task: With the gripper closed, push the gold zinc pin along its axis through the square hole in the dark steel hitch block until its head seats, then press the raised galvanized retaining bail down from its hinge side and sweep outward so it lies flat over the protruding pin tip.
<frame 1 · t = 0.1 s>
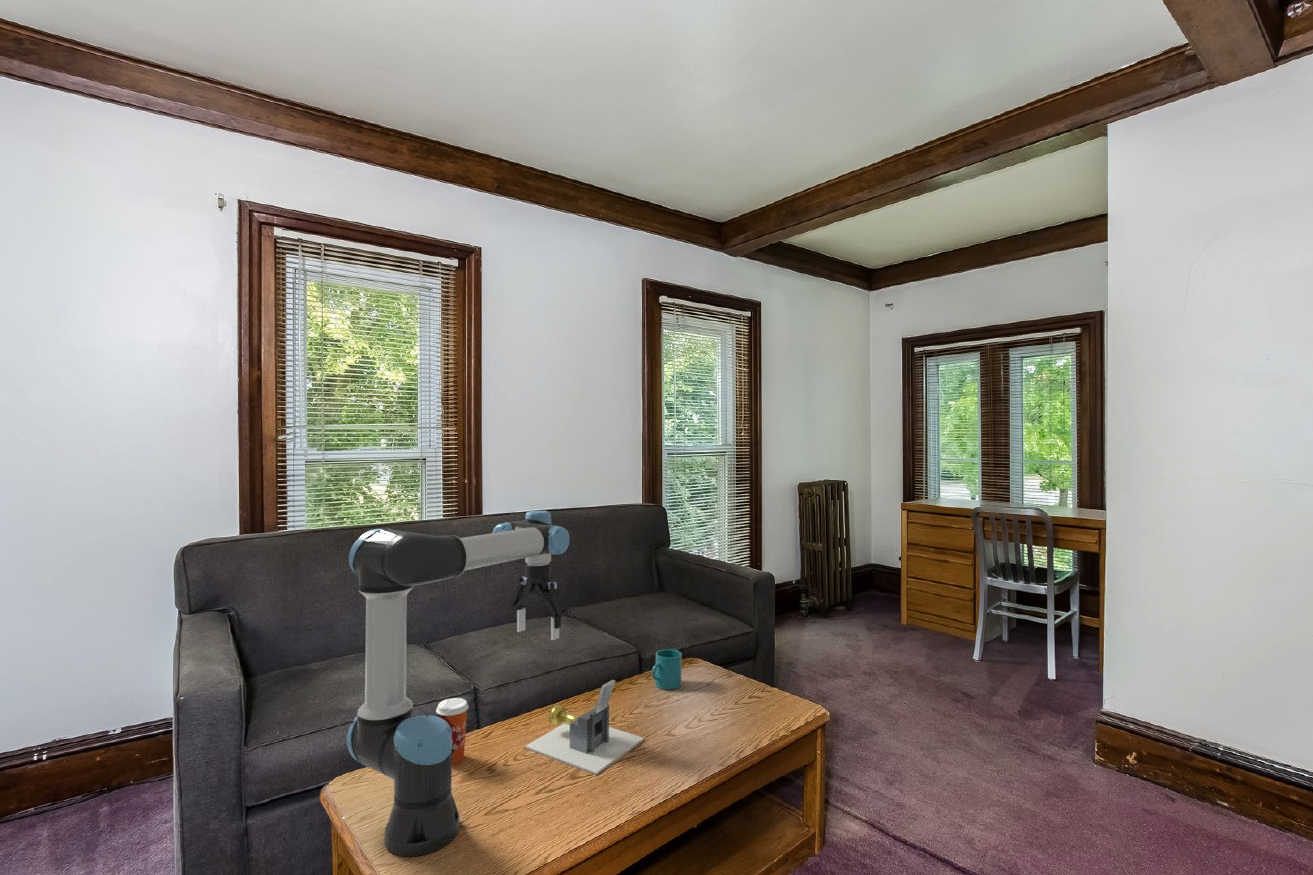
hand: (537, 634, 182), 28 cm above the table, fingers open, 13 cm apart
pin: (571, 719, 175), point 6 cm above the table, slide at 0.0 cm
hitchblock: (589, 745, 172), resting on mat
coffee cup: (452, 760, 164), on the table
cup: (665, 687, 213), on the table
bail: (604, 696, 169), point 15 cm above the table, hinge at 20.0°
mat: (585, 743, 172), on the table
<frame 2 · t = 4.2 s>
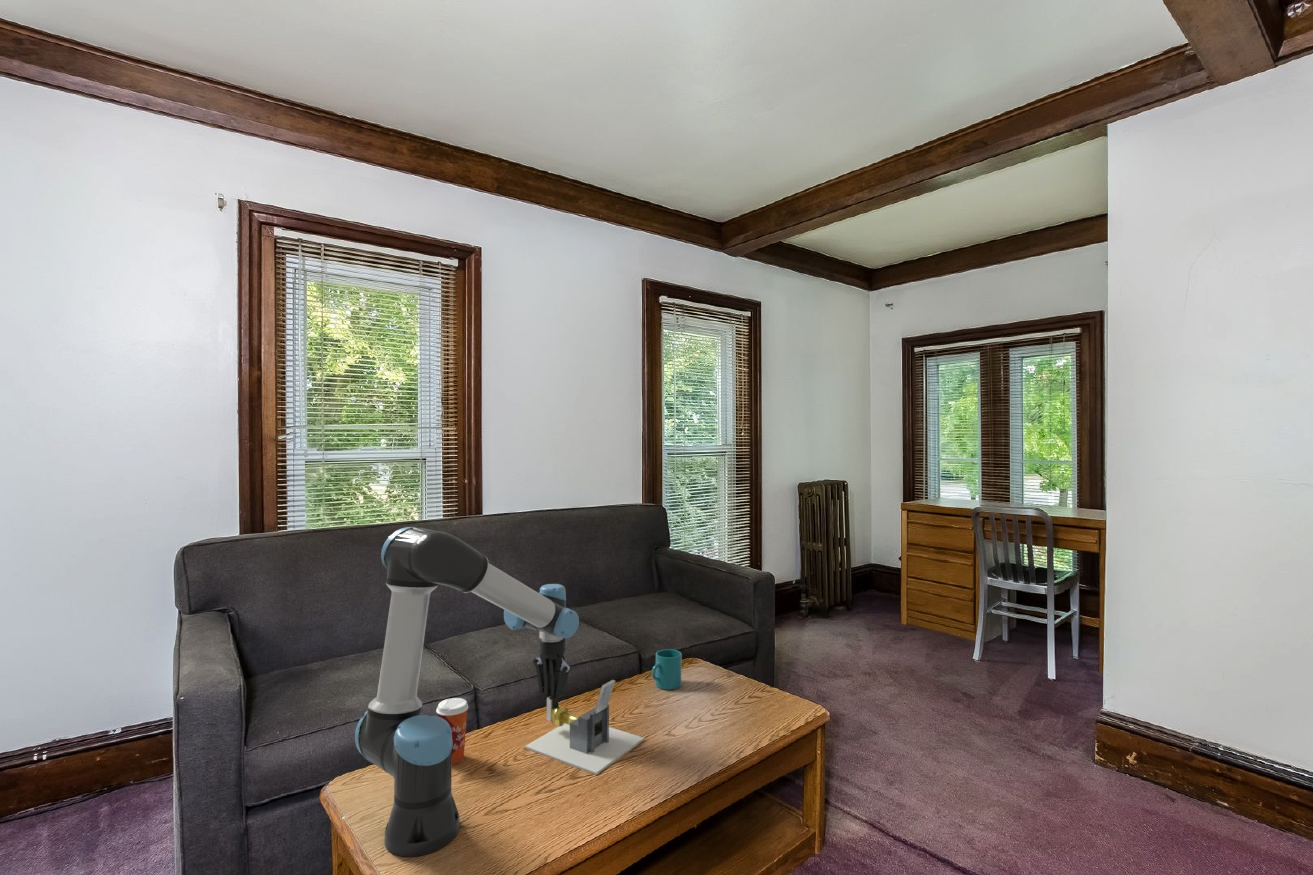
hand: (551, 718, 179), 4 cm above the table, fingers closed
pin: (574, 720, 175), point 6 cm above the table, slide at 1.0 cm, touching gripper
everything else where it was.
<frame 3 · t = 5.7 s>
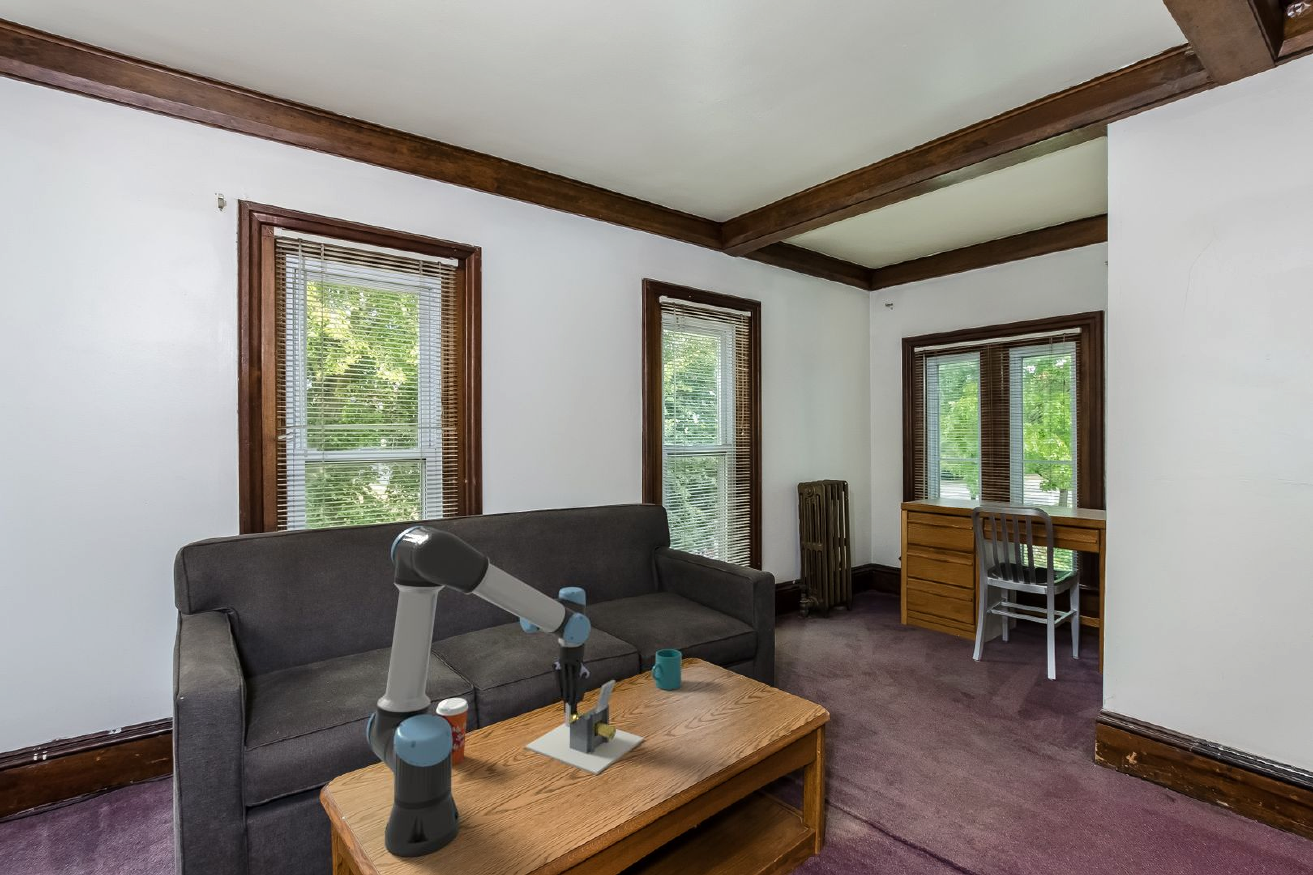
hand: (570, 724, 175), 4 cm above the table, fingers closed
pin: (593, 726, 171), point 6 cm above the table, slide at 8.0 cm, touching gripper, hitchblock
everything else where it was.
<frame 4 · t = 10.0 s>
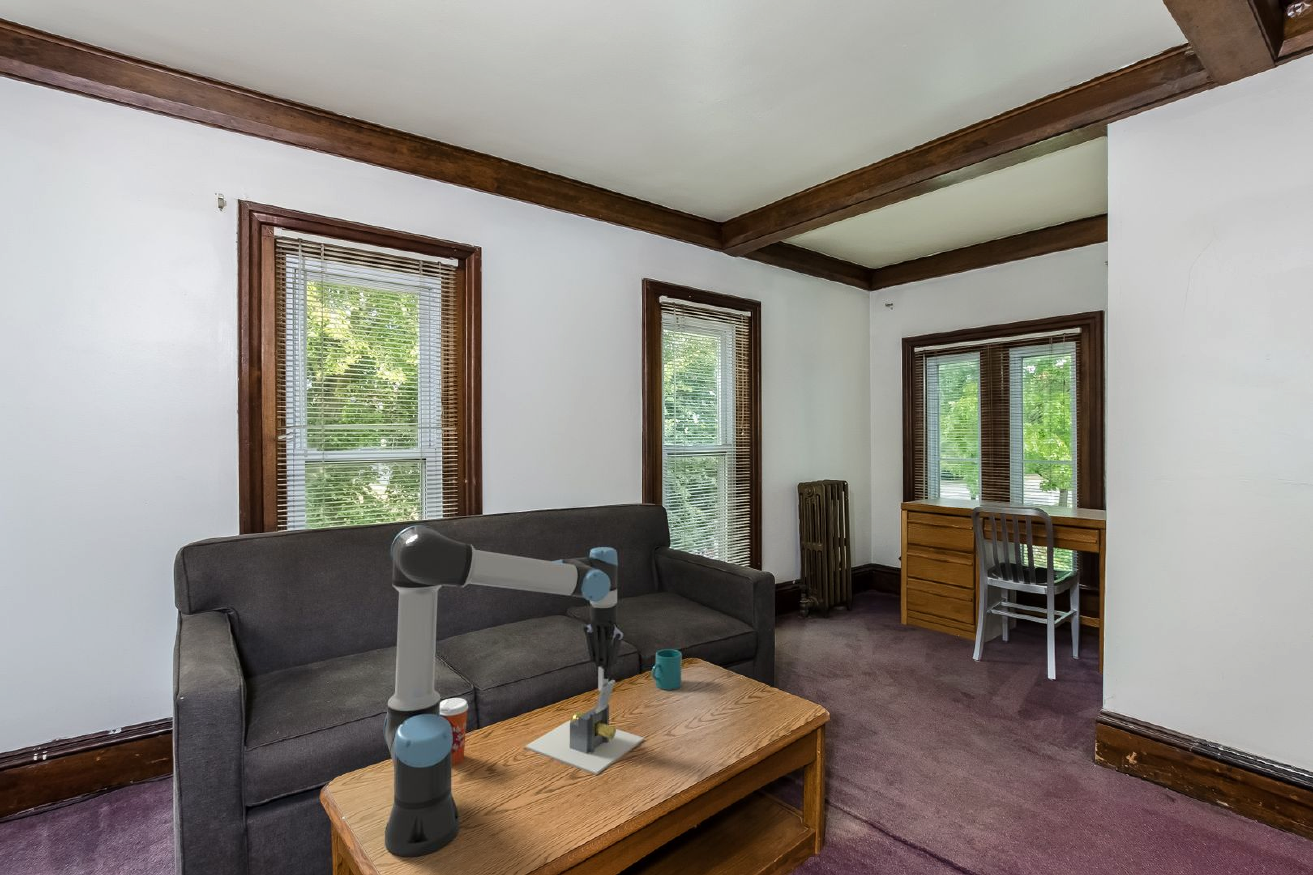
hand: (603, 689, 169), 17 cm above the table, fingers closed
pin: (593, 726, 171), point 6 cm above the table, slide at 8.0 cm, touching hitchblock
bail: (604, 696, 169), point 15 cm above the table, hinge at 20.0°, touching gripper
everything else where it was.
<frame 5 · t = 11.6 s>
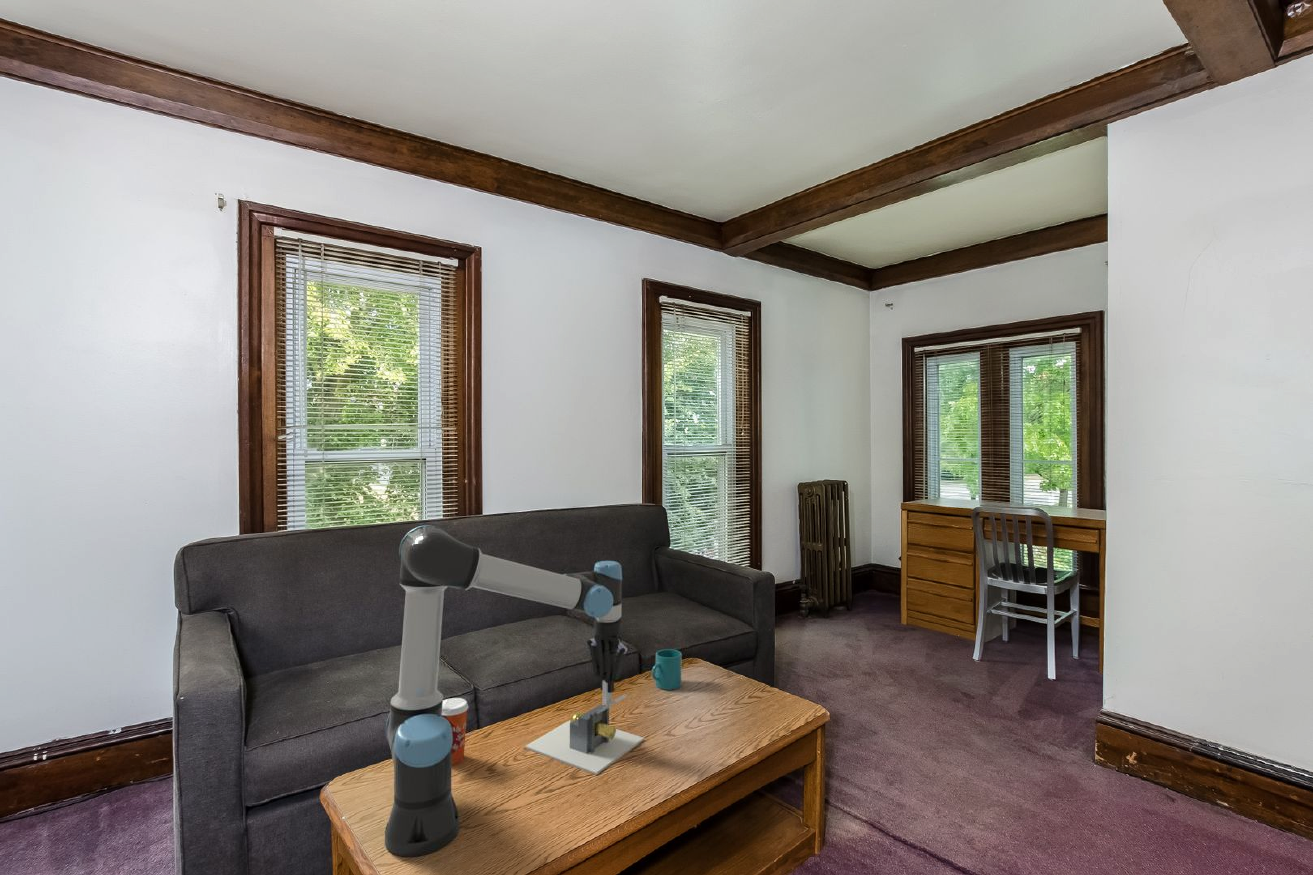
hand: (607, 702, 169), 13 cm above the table, fingers closed
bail: (610, 704, 168), point 13 cm above the table, hinge at 53.4°, touching gripper
everything else where it was.
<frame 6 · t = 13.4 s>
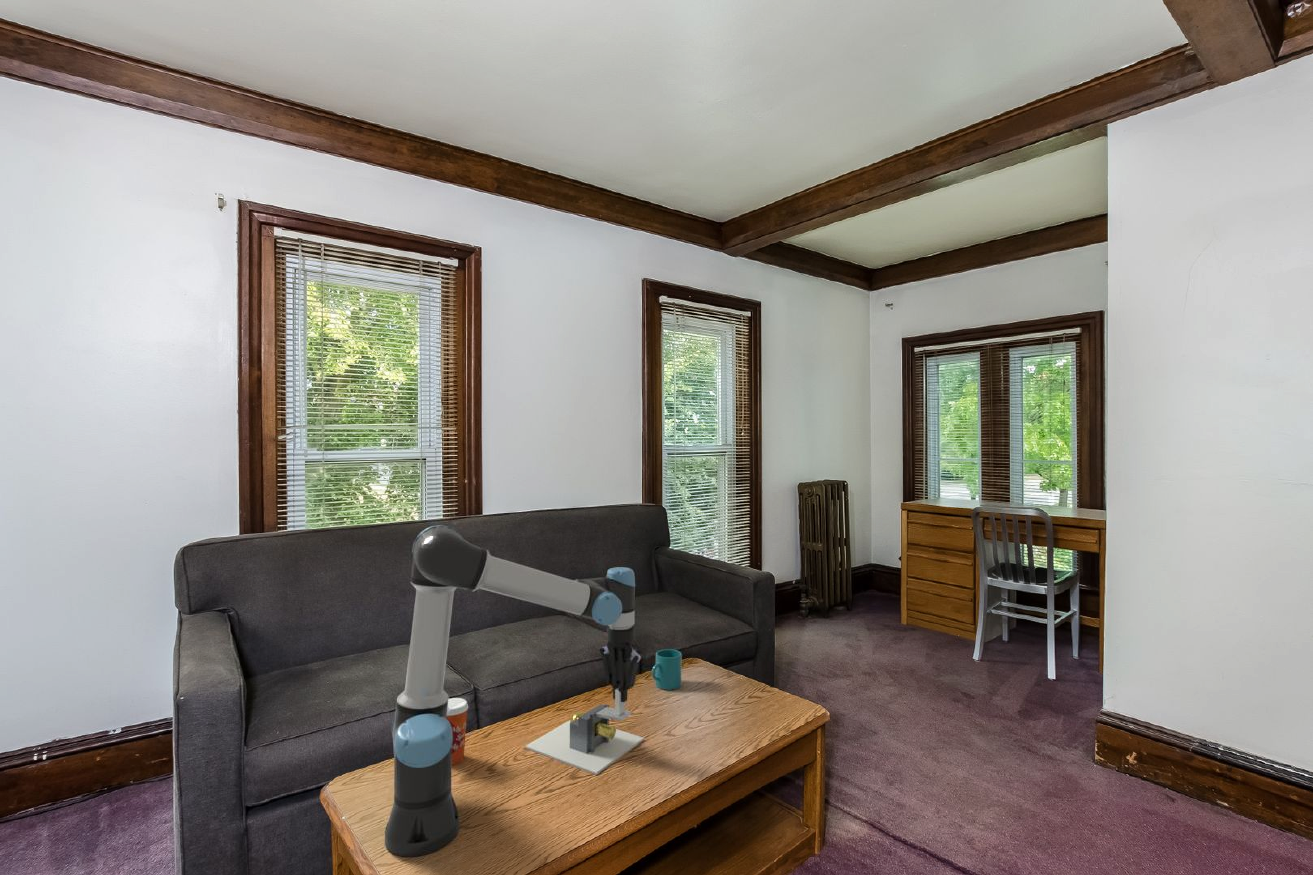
hand: (620, 712, 166), 12 cm above the table, fingers closed
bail: (613, 713, 167), point 11 cm above the table, hinge at 84.1°, touching gripper
everything else where it was.
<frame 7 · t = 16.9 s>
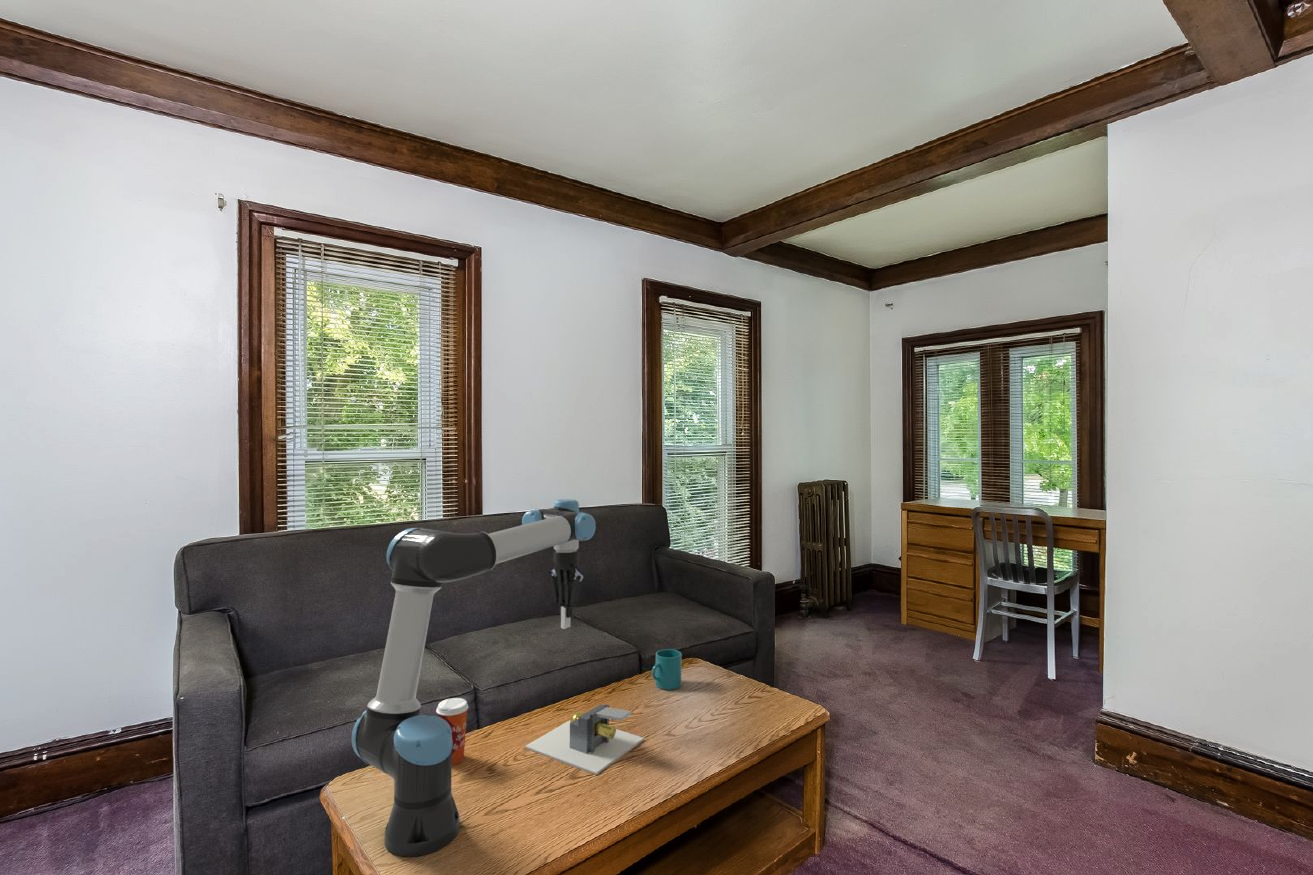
hand: (565, 627, 187), 28 cm above the table, fingers closed
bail: (613, 713, 167), point 11 cm above the table, hinge at 84.2°
everything else where it was.
at the end: pin slide at 8.0 cm; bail at +84° (first picture: +20°) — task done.
